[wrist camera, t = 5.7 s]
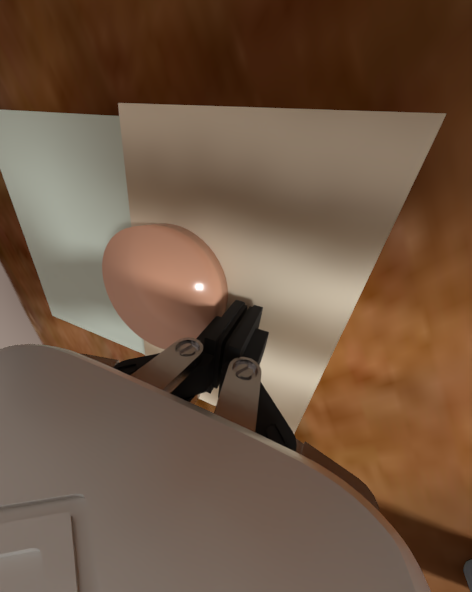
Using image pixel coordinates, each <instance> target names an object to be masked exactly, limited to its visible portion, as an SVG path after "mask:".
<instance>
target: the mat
mask: <svg viewBox="0 0 472 592" xmlns="http://www.w3.org/2000/svg"><path fill="white" fill-rule="evenodd" d="M0 169H1V172H2V175H3V178H4V181H5V183H6V186H7V189H8V192H9V195H10V198H11V200H12V203H13V206H14V209H15V212H16V214H17V217H18V220H19V223H20V226H21V228H22V231H23V234H24V237H25V240H26V242H27V245H28V248H29V251H30V254H31V257H32V259H33V262H34V265H35V268H36V271H37V273H38V276H39V279H40V282H41V285H42V287H43V290H44V293H45V296H46V299H47V301H48V304H49V307H50V310H51V313H52V316H55V317H57V318H59V319H62V320H64V321H67V322H69V323H71V324H74V325H76V326H78V327H81V328H83V329H86V330H88V331H90V332H93V333H95V334H97V335H100V336H102V337H105V338H107V339H109V340H112V341H114V342H116V343H119V344H121V345H124V346H126V347H128V348H131V349H133V350H135V351H138V352H140V353H142V354H145V348H144V340H143V339H142V338H141V337H139V336H138V335H137V334H136V333H134V332H133V331H132V330H131V329H130V328H129V327H128V326H127V325H126V324H125V322H124V321H123V320H122V319H121V317H120V316H119V315H118V313H117V312H116V310H115V309H114V307H113V305H112V303H111V301H110V299H109V297H108V294H107V291H106V288H105V285H104V281H103V274H102V261H103V255H104V251H105V248H106V246H107V244H108V242H109V241H110V239H111V238H112V237H113V236H114V235H115V234H116V233H118V232H119V231H121V230H123V229H126V228H129V227H131V219H130V210H129V201H128V191H127V182H126V173H125V164H124V155H123V145H122V136H121V127H120V118H119V116H110V115H91V114H73V113H54V112H36V111H17V110H0Z"/></svg>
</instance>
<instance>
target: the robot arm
mask: <svg viewBox="0 0 472 592" xmlns="http://www.w3.org/2000/svg"><path fill="white" fill-rule="evenodd" d="M262 311H263V307H260V306H257V305H253V307H251V306H249V308H248V309H247V305H245V302H243V301H239V300H235V301H234V302H233V303H232V305H231V306H230V307H229V308H228V309H227V311H226V312H225V313H224V314H223V315H222V317H219V316H216V317H215V318H214V319H213V320H212V321H211V322H210V324H209V325H208V326H207V327H206V328H205V329H204V330H203V331H202V333H201V334H200V335H199V336H198V337H197V338H196V339H195V338H183V339H179V340H178V341H176V342H175V343H173V344H172V345H171V346H169V347H168V348H167V349H165V350H164V351H163V352H161V353H158V354H153V355H148V356H143V357H138V358H133V359H128V360H125V361H122V362H120V363H119V360H116V359H110V358H104V357H99V356H93V355H87V354H79V353H76V352H73V351H70V350H67V349H63V348H59V347H54V346H48V345H35V344H25V345H14V346H9V347H5V348H3V349H0V592H431V591H430V588H429V586H428V584H427V582H426V580H425V577H424V575H423V573H422V571H421V569H420V567H419V565H418V563H417V561H416V559H415V558H414V556H413V554H412V552H411V550H410V549H409V547H408V546H407V544H406V543H405V541H404V540H403V539H402V537H401V536H400V535H399V534H398V532H397V531H396V530H395V529H394V527H393V526H392V525H391V524H390V523H389V522H388V521H387V520H386V518H385V517H384V516H383V515H382V514H381V513H380V512H379V506H378V504H377V502H376V499H375V497H374V495H373V494H372V492H371V491H370V490H369V488H368V487H367V485H365V484H364V483H363V482H362V481H361V480H360V479H359V478H357V477H356V476H354V475H353V474H351V473H350V472H349V471H347V470H346V469H344V468H343V467H341V466H340V465H338V464H337V463H336V462H334V461H333V460H331V459H330V458H328V457H327V456H325V455H324V454H323V453H321V452H320V451H318V450H317V449H315V448H314V447H313V446H311V445H310V444H308V443H307V442H304V444H303V443H302V442H300V441H299V440H297V439H296V438H295V435H294V433H293V431H292V430H291V428H290V426H289V425H288V423H287V422H286V420H285V419H284V417H283V416H282V414H281V412H280V411H279V409H278V408H277V406H276V405H275V403H274V402H273V400H272V398H271V397H270V395H269V394H268V392H267V391H266V389H265V388H264V386H263V384H262V383H261V368H260V363H261V360H262V357H263V354H264V350H265V347H266V343H267V339H268V335H269V332H267V331H264V330H261V329H259V324H260V320H261V315H262ZM218 386H219V392H218V401H217V405H216V408H215V411H214V413H212V412H210V411H207V410H205V409H203V408H201V407H199V406H196V405H194V404H195V403H196V401H197V400H198V398H199V397H200V394H201V393H204V392H208V393H210V394H211V392H212V390H213V388H216V389H217V388H218Z"/></svg>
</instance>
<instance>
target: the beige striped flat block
mask: <svg viewBox="0 0 472 592" xmlns="http://www.w3.org/2000/svg"><path fill="white" fill-rule="evenodd" d="M118 109H119V118H120V127H121V136H122V145H123V155H124V164H125V173H126V182H127V191H128V201H129V210H130V219H131V227H134V226H142V225H150V224H159V223H168V224H174V225H178V226H181V227H183V228H185V229H188V230H189V231H191V232H193V233H194V234H196V235H197V236H198V237H200V238H201V239H202V240H203V241H204V242H205V243H206V244H207V245H208V246H209V247H210V248H211V250H212V251H213V252H214V254H215V255H216V257H217V259H218V260H219V262H220V264H221V266H222V268H223V271H224V274H225V277H226V281H227V286H228V302H227V307H226V310H225V312H226V311H227V309H228V308H229V307H230V306H231V305H232V303H233V302H234V301H235V300H239V301H243V302H245V305H247V309H248V308H249V306H251V307H253V305H257V306H260V307H263V311H262V315H261V320H260V324H259V329H261V330H264V331H267V332H269V335H268V339H267V343H266V347H265V350H264V354H263V357H262V360H261V363H260V368H261V383H262V384H263V386H264V388H265V389H266V391H267V392H268V394H269V395H270V397H271V398H272V400H273V402H274V403H275V405H276V406H277V408H278V409H279V411H280V412H281V414H282V416H283V417H284V419H285V420H286V422H287V423H288V425H289V426H290V428H291V430H292V431H293V433H295V431H296V429H297V427H298V425H299V422H300V420H301V418H302V416H303V414H304V412H305V410H306V408H307V406H308V404H309V402H310V399H311V397H312V395H313V393H314V391H315V389H316V387H317V385H318V383H319V381H320V378H321V376H322V374H323V372H324V370H325V368H326V366H327V364H328V362H329V360H330V357H331V355H332V353H333V351H334V349H335V347H336V345H337V343H338V341H339V339H340V336H341V334H342V332H343V330H344V328H345V326H346V324H347V322H348V320H349V318H350V315H351V313H352V311H353V309H354V307H355V305H356V303H357V301H358V299H359V297H360V294H361V292H362V290H363V288H364V286H365V284H366V282H367V280H368V278H369V276H370V273H371V271H372V269H373V267H374V265H375V263H376V261H377V259H378V257H379V255H380V252H381V250H382V248H383V246H384V244H385V242H386V240H387V238H388V236H389V234H390V231H391V229H392V227H393V225H394V223H395V221H396V219H397V217H398V215H399V213H400V210H401V208H402V206H403V204H404V202H405V200H406V198H407V196H408V194H409V192H410V189H411V187H412V185H413V183H414V181H415V179H416V177H417V175H418V173H419V171H420V168H421V166H422V164H423V162H424V160H425V158H426V156H427V154H428V152H429V150H430V147H431V145H432V143H433V141H434V139H435V137H436V135H437V133H438V131H439V129H440V126H441V124H442V122H443V120H444V118H445V116H446V114H445V113H414V112H383V111H353V110H322V109H291V108H260V107H230V106H199V105H168V104H138V103H118ZM144 348H145V356H148V355H153V354H158V353H161V352H163V351H164V350H165V349H162V348H159V347H156V346H154V345H152V344H150V343H148V342H147V341H145V340H144ZM218 392H219V386H218V388H217V389H216V388H213V390H212V392H211V394H210V393H208V392H204V393H201V394H200V397H199V399H201V400H203V401H206V402H208V403H210V404H212V405H214V406H216V405H217V401H218Z"/></svg>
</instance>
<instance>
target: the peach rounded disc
mask: <svg viewBox="0 0 472 592" xmlns="http://www.w3.org/2000/svg"><path fill="white" fill-rule="evenodd" d="M102 274H103V281H104V285H105V288H106V291H107V294H108V297H109V299H110V301H111V303H112V305H113V307H114V309H115V310H116V312H117V313H118V315H119V316H120V317H121V319H122V320H123V321H124V322H125V324H126V325H127V326H128V327H129V328H130V329H131V330H132V331H133V332H134V333H136V334H137V335H138V336H139V337H141V338H142V339H143V340H145V341H147V342H148V343H150V344H152V345H154V346H156V347H159V348H162V349H167V348H168V347H169V346H171V345H172V344H173V343H175V342H176V341H178V340H179V339H183V338H195V339H196V338H197V337H198V336H199V335H200V334H201V333H202V331H203V330H204V329H205V328H206V327H207V326H208V325H209V324H210V322H211V321H212V320H213V319H214V318H215V317H216V316H219V317H222V315H223V314H224V313H225V310H226V307H227V302H228V286H227V281H226V277H225V274H224V271H223V268H222V266H221V264H220V262H219V260H218V259H217V257H216V255H215V254H214V252H213V251H212V250H211V248H210V247H209V246H208V245H207V244H206V243H205V242H204V241H203V240H202V239H201V238H200V237H198V236H197V235H196V234H194V233H193V232H191V231H189V230H188V229H185V228H183V227H181V226H178V225H174V224H168V223H159V224H150V225H142V226H134V227H129V228H126V229H123V230H121V231H119V232H118V233H116V234H115V235H114V236H113V237H112V238H111V239H110V241H109V242H108V244H107V246H106V248H105V251H104V255H103V261H102Z"/></svg>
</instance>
